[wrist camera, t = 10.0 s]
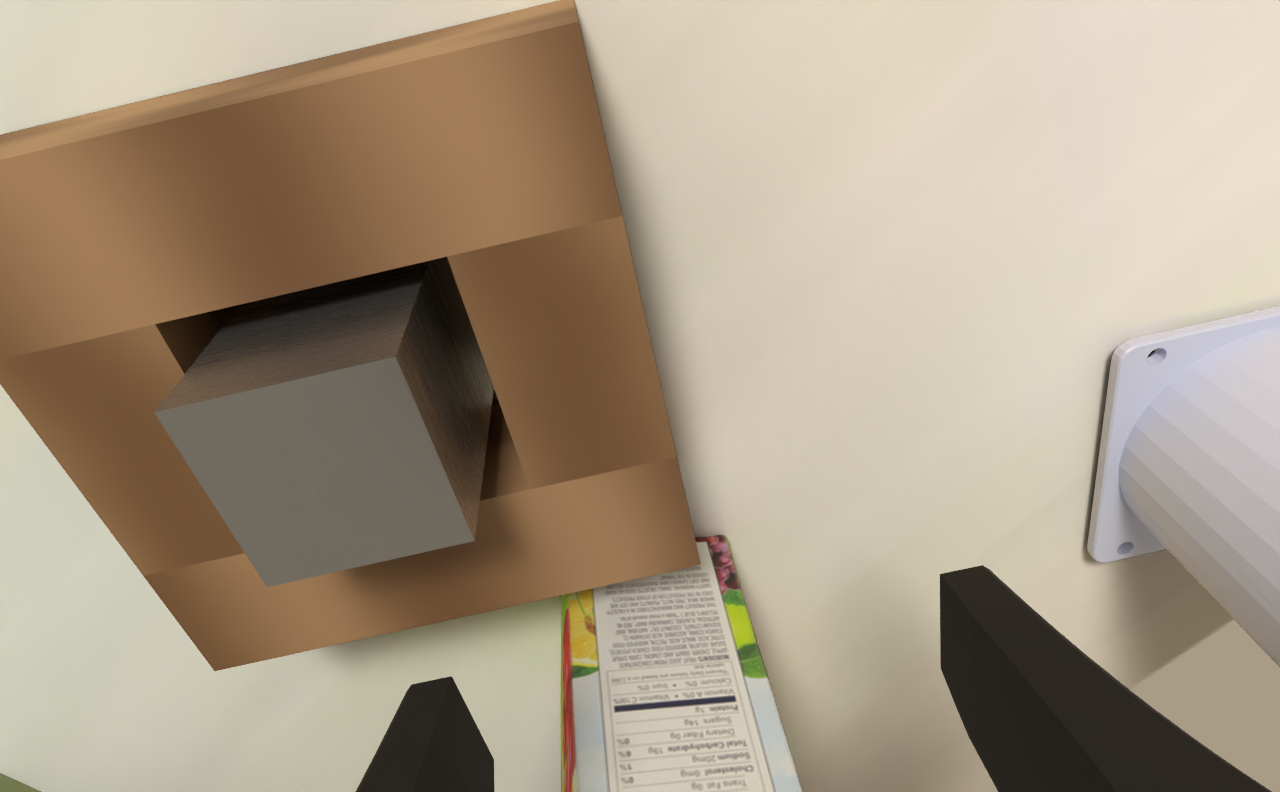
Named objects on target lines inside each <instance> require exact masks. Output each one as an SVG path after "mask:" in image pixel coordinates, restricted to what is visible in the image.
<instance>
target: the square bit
mask: <svg viewBox="0 0 1280 792" xmlns="http://www.w3.org/2000/svg"><path fill="white" fill-rule="evenodd" d="M493 391H494V387H493V384H492V381H491V378H490V376H489V373H488V370H487V367H486V364H485V362H484V359H483V356H482V353H481V350H480V348H479V345H478V342H477V339H476V336H475V334H474V331H473V328H472V325H471V322H470V320H469V317H468V314H467V311H466V308H465V306H464V303H463V300H462V297H461V295H460V292H459V289H458V286H457V283H456V281H455V278H454V275H453V272H452V269H451V267H450V264H449V261H448V258H447V257H443V258H439V259H434V260H430V261H426V262H421V263H417V264H413V265H409V266H404V267H400V268H396V269H391V270H387V271H383V272H378V273H374V274H370V275H365V276H361V277H357V278H352V279H348V280H344V281H340V282H335V283H331V284H327V285H322V286H318V287H314V288H309V289H305V290H301V291H296V292H292V293H288V294H283V295H279V296H275V297H271V298H266V299H262V300H258V301H253V302H249V303H245V304H240V305H239V306H238V307H237V309H236V310H235V311H234V312H233V314H232V315H231V316H230V318H229V319H228V320H227V321H226V323H225V324H224V325H223V326H222V328H221V329H220V330H219V331H218V333H217V334H216V335H215V336H214V338H213V339H212V340H211V341H210V343H209V344H208V345H207V347H206V348H205V349H204V350H203V352H202V353H201V354H200V355H199V357H198V358H197V359H196V360H195V362H194V363H193V364H192V365H191V367H190V368H189V369H188V371H187V372H186V373H185V374H184V376H183V377H182V378H181V379H180V381H179V382H178V383H177V384H176V386H175V387H174V388H173V389H172V391H171V392H170V393H169V394H168V396H167V397H166V398H165V400H164V401H163V402H162V403H161V405H160V406H159V407H158V408H157V410H156V411H155V412H154V413H155V414H156V416H157V417H158V419H159V421H160V422H161V424H162V425H163V427H164V428H165V430H166V431H167V433H168V435H169V436H170V438H171V439H172V441H173V442H174V444H175V445H176V447H177V448H178V450H179V452H180V453H181V455H182V456H183V458H184V459H185V461H186V462H187V464H188V466H189V467H190V469H191V470H192V472H193V473H194V475H195V476H196V478H197V480H198V481H199V483H200V484H201V486H202V487H203V489H204V490H205V492H206V494H207V495H208V497H209V498H210V500H211V501H212V503H213V504H214V506H215V508H216V509H217V511H218V512H219V514H220V515H221V517H222V518H223V520H224V522H225V523H226V525H227V526H228V528H229V529H230V531H231V532H232V534H233V536H234V537H235V539H236V540H237V542H238V543H239V545H240V546H241V548H242V550H243V551H244V553H245V554H246V556H247V557H248V559H249V560H250V562H251V564H252V565H253V567H254V568H255V570H256V571H257V573H258V574H259V576H260V578H261V579H262V581H263V582H264V584H265V585H266V587H271V586H275V585H280V584H284V583H288V582H293V581H297V580H302V579H306V578H311V577H315V576H320V575H324V574H329V573H333V572H338V571H342V570H347V569H351V568H356V567H360V566H365V565H369V564H374V563H378V562H383V561H387V560H392V559H396V558H401V557H405V556H410V555H414V554H419V553H423V552H427V551H432V550H436V549H441V548H445V547H450V546H454V545H459V544H463V543H468V542H472V541H475V535H476V527H477V519H478V511H479V503H480V495H481V487H482V479H483V471H484V463H485V455H486V447H487V439H488V431H489V423H490V415H491V407H492V399H493Z"/></svg>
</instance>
